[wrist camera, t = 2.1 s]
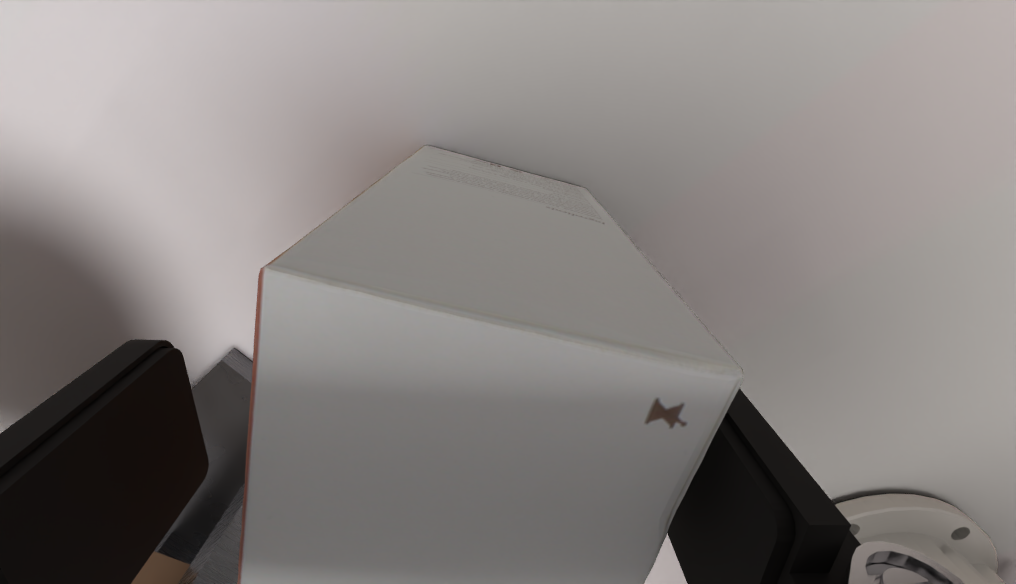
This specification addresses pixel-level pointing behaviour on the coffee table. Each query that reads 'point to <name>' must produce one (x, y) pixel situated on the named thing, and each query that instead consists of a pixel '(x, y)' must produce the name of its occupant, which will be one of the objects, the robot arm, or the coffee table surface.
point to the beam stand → (216, 478)
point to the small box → (471, 390)
